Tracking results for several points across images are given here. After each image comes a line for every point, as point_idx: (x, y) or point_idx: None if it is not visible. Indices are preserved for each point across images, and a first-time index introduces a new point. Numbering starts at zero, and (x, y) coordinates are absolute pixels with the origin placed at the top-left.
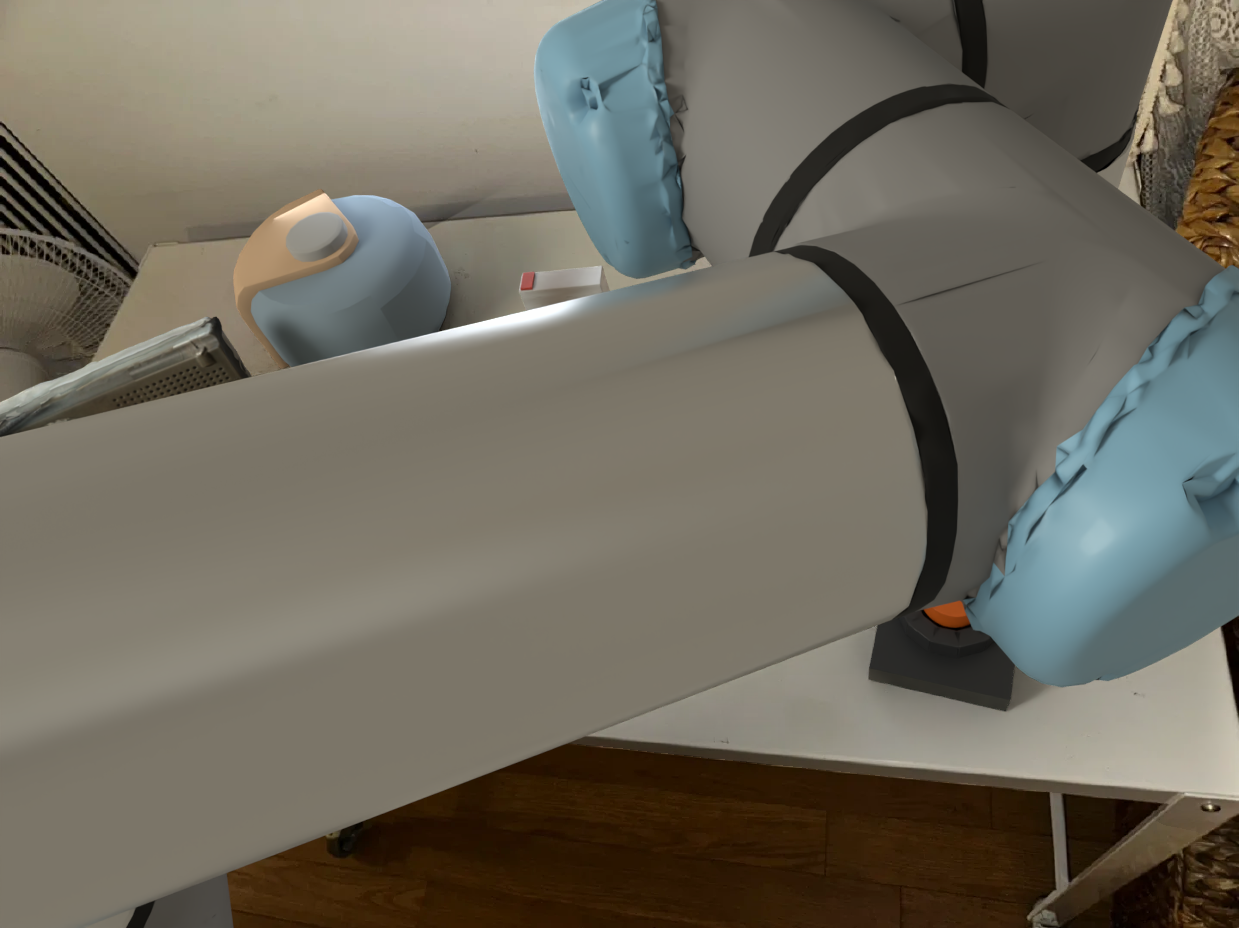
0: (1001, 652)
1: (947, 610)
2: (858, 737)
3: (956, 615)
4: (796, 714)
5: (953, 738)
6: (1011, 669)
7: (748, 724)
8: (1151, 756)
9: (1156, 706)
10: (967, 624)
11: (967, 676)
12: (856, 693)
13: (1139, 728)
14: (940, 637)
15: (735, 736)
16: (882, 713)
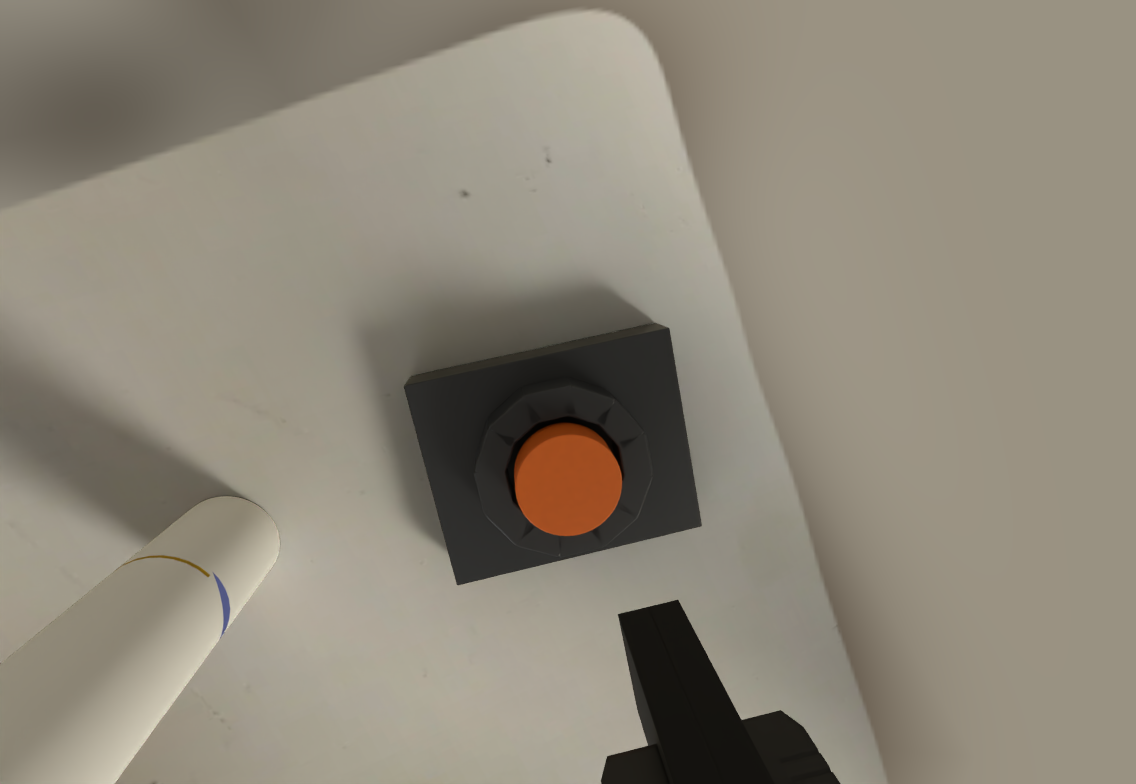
0: (598, 365)
1: (613, 481)
2: (769, 485)
3: (615, 464)
4: (770, 568)
5: (721, 374)
6: (620, 342)
7: (806, 614)
8: (636, 115)
9: (555, 125)
10: (598, 435)
11: (658, 397)
12: (711, 513)
13: (601, 141)
14: (640, 464)
15: (827, 620)
16: (725, 471)
